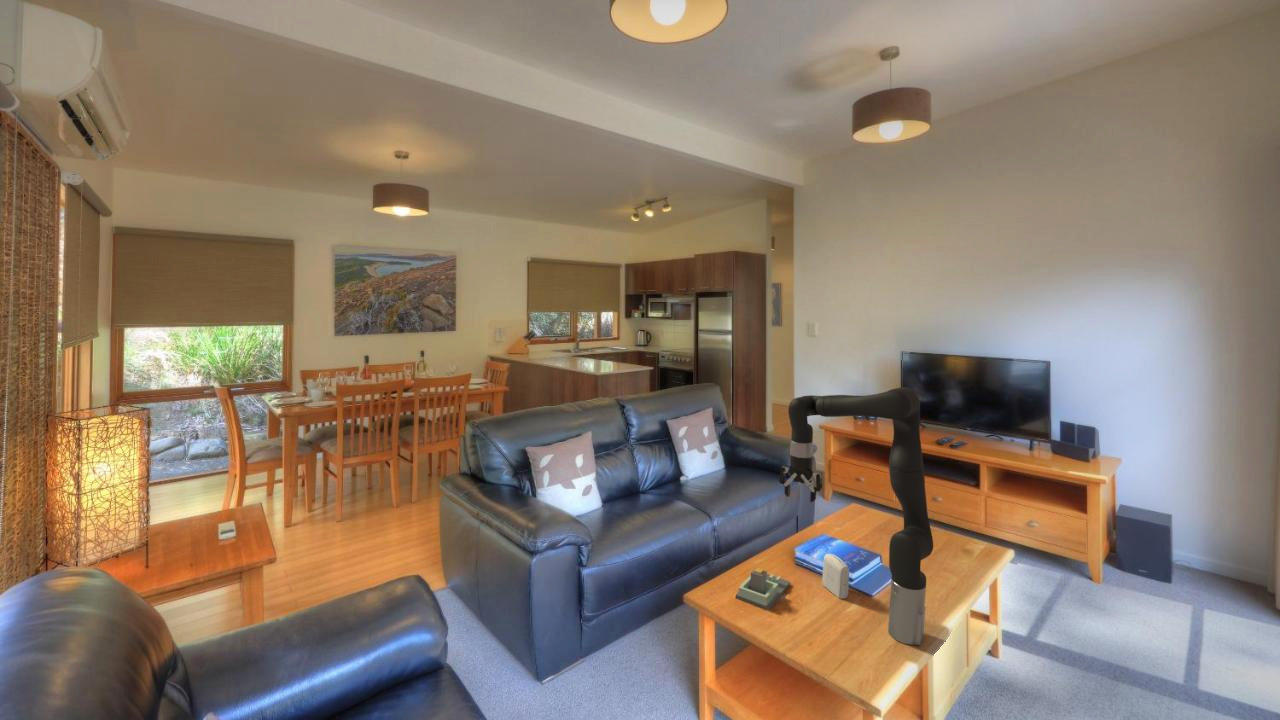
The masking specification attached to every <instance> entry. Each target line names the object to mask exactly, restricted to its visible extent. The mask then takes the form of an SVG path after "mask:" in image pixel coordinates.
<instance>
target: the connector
mask: <svg viewBox="0 0 1280 720" xmlns="http://www.w3.org/2000/svg"><path fill="white" fill-rule="evenodd" d="M767 574H768V571H767V570H765V569H763V568H760V567H755V568H754V569H753V570H752V571H750V575H751V586H750V590H752V591H755V592H758V593H761V594H763V595H765V594H766V578H767Z"/></svg>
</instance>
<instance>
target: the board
mask: <svg viewBox="0 0 1280 720" xmlns="http://www.w3.org/2000/svg"><path fill="white" fill-rule="evenodd" d="M766 580H768V581H771V582H774V583H777V584H778V593H777V594H776V595H775V596H774V598H773V599H772V600H771V601H770V602H769V604H768V605H767V606H765V605H762V604H759V603H757V602H754V601H751V600H749V599H746V598H743V597H740V596H738V595H739V591H738V592H737V593H736V594H735V599H738V600H740V601H742V602H746V603H747V604H751V605H753V606H756V607H758V608H762V609H764V610H766V611H770V610H771V609H772V608H773V606H775V604H776V603H777V602H778V600H779V599H780V598H781V597H782V595H784V593H785V592H786V591H787V589H788V588H789V587H790V586H791V581H790V580H787V579H783V578H781V576H779V575H778V576H775V574H774V573H771V574H769V573H767V578H766ZM749 590H750V588H749ZM767 592H768V590H766V593H767ZM765 595H766V594H765Z"/></svg>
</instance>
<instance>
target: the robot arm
mask: <svg viewBox="0 0 1280 720" xmlns="http://www.w3.org/2000/svg"><path fill="white" fill-rule="evenodd" d="M787 408H788V410H787V411H788V412H787V414H788V418H789V423H790V428H791V435H790V437H791V438H790V449H789V467H787V465H783V466H781V467H780V468H779V469H780V470H779V479H778V480H779V484H782V485H783V486H784V495H785V496H786V498H789V497H791V483H793V481H794V482H795V483H800V484H805V485H806V486H807V487H808V488H809V490H810V497H809V499H810V500H809V501H810V502H811V503H814V502H815V501H816V500H817V492H820V491H822V489H823V474H822V472H818V473H817V472H814V471H813V464H814V463H813V459H814V443H813V441H814V440H813V438H814V429H813V426H812V425H811V424H809V422H808V417H810V416H821V417H826V418H827V417H828V418H833V417H834V418H835V417H841V418H842V417H873V418H881V419H886V420H887V419H888V420H892V425H893V428H892V429H893V438H892V443H891V447H890V452H889V459H888V471H889V481H890V486H891V488H892V491H893V493H894V495H895V496H896V498H897V500H898V502H899V504H900V507H901V509H902V514H903V529H901V530H899V531H897V532H895V533H893V535H892V536H891V538H890V540H889V548H888V550H889V551H888V567H889V571H890V574H891V575H890V577H891V578H890V580H891V581H890V596H889V612H888V613H889V614H888V624H887V625H888V626H887V627H888V628H887V629H888V631H887V632H888V634H889V636H890V637H892V638H893V639H894V640H896V642H900V643H902V644H904V645H911V646H913V645H914V646H918V645H919V647H921V646H922V643H923V639H924V637H925V623H926V622H925V619H926V610H927V609H926V594H927V593H926V592H927V591H926V590H927V576H926V575H925V573H924V572H922V571H921V563H922V561H923V560H925V559H926V558H928V557H929V556H930V555H931V554H932V552H933V550H934V539H933V535H932V534H933V533H932V529H931V524H930V520H929V514H928V506H927V504H928V503H927V494H926V493H927V492H926V480H925V478H926V477H925V470H924V469H925V468H924V461H923V451H922V450H923V449H922V443H921V435H920V429H921V428H920V426H921V422H920V421H921V400H920V397H919V396H918V394H917V393H916V392H915V391H914V390H913V389H911V388H909V387H905V386H904V387H897V388H892V389H889V390H887V391H885V392H879V393H874V394H870V395H850V394H849V395H848V394H831V395H830V394H829V395H828V394H827V395H813V394H812V395H802V396H798V397H794V398H793V399H792V400H790V402H789V405H788V407H787ZM787 473H788V474H789V475H790V477H789V478H788V479H787V480H786V476H787V475H786V474H787ZM812 477H813V478H814V480H815V482H814V480H813V479H812ZM815 483H816V485H815Z"/></svg>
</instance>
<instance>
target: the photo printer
mask: <svg viewBox="0 0 1280 720" xmlns="http://www.w3.org/2000/svg"><path fill="white" fill-rule="evenodd" d="M822 563H823V565H822V581H821V582H822V585H823V586H824V588H826V589H828V591H829V592H831V593H832V594H833V595H834V596H835V597H836V598H838V599H841V600H845V599H847V598H848V596H849V586H850V585H849V583H850V568H849V566H848V565H847V564H846V562H845V561H844V560H842V559H841V558H840V557H839V556H837V555H835V554H833V553H826V554H825V555H824V557H823V562H822Z"/></svg>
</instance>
